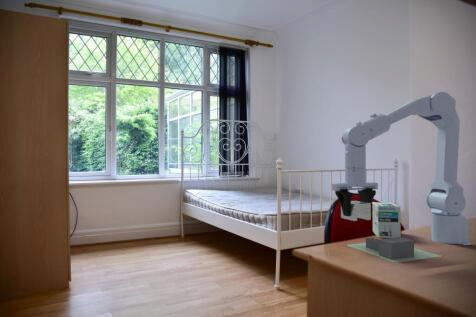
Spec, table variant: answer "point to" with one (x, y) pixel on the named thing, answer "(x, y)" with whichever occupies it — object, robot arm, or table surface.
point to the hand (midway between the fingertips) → (355, 215)
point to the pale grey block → (358, 211)
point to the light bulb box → (386, 220)
